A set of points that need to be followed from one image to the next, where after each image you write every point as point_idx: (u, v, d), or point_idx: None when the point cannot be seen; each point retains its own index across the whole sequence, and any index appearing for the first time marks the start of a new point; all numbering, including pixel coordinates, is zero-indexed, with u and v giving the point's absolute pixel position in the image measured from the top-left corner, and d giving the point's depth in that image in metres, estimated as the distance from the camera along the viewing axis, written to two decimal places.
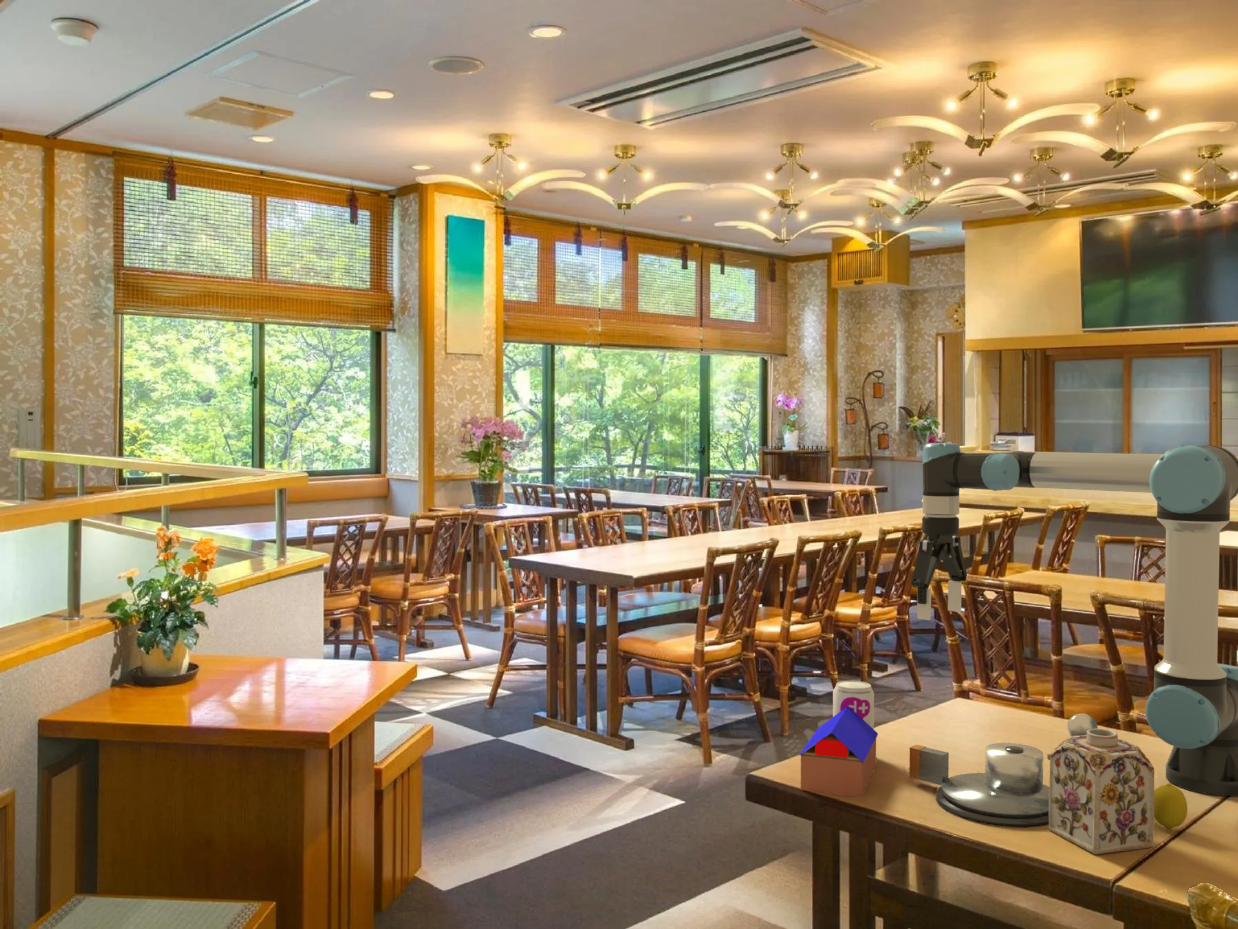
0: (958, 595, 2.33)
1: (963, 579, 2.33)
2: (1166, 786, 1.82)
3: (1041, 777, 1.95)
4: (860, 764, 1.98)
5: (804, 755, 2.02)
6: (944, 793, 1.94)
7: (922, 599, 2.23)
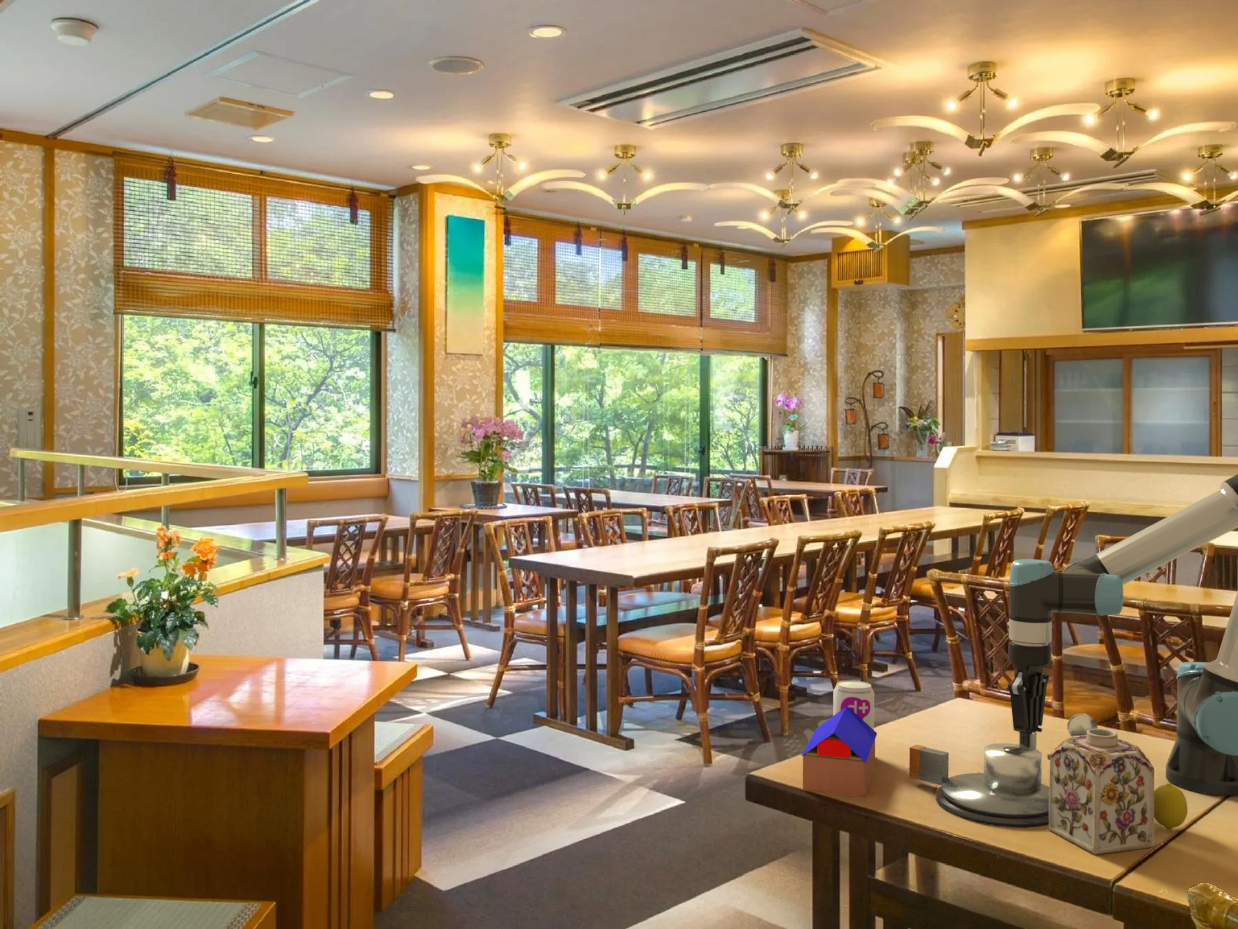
0: None
1: (1038, 729, 2.03)
2: (1166, 786, 1.82)
3: (1039, 778, 1.95)
4: (862, 764, 1.98)
5: (806, 755, 2.02)
6: (944, 793, 1.94)
7: (1025, 745, 2.02)
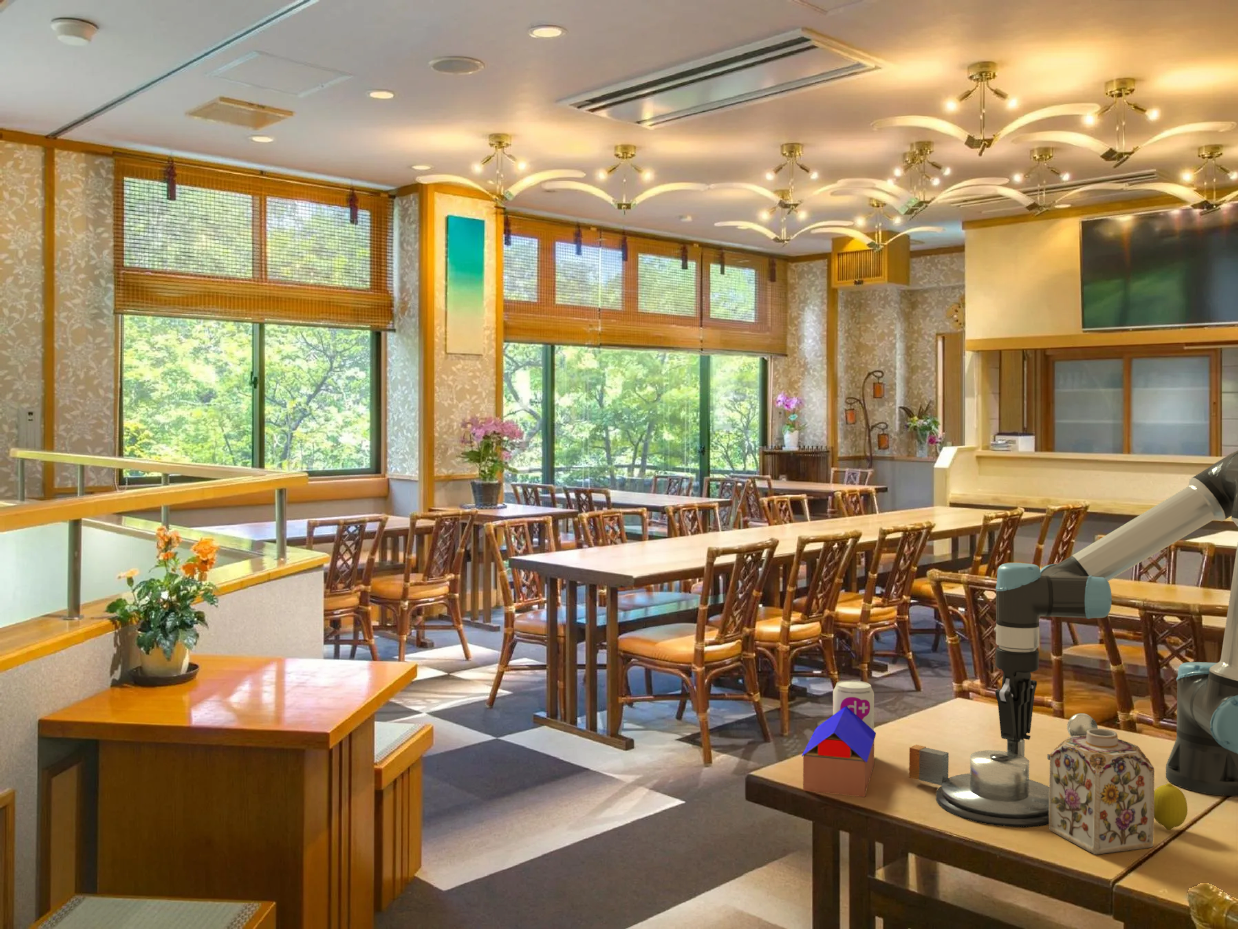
0: None
1: (1026, 736, 1.98)
2: (1166, 786, 1.82)
3: (1027, 786, 1.91)
4: (863, 764, 1.98)
5: (806, 755, 2.02)
6: (944, 793, 1.94)
7: None
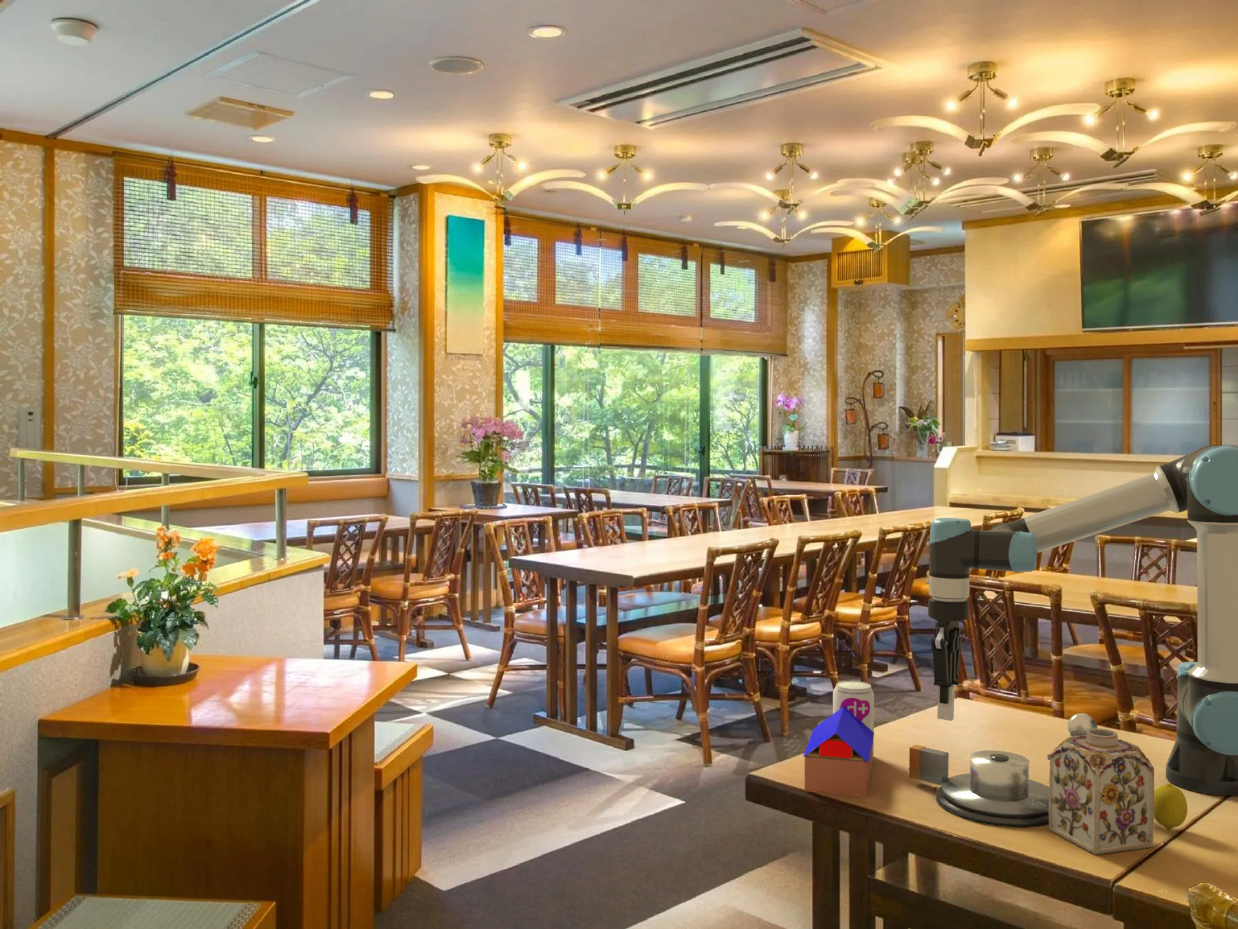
0: None
1: (956, 682, 2.09)
2: (1166, 786, 1.82)
3: (1027, 786, 1.91)
4: (865, 764, 1.99)
5: (808, 756, 2.02)
6: (944, 793, 1.94)
7: (945, 699, 2.07)
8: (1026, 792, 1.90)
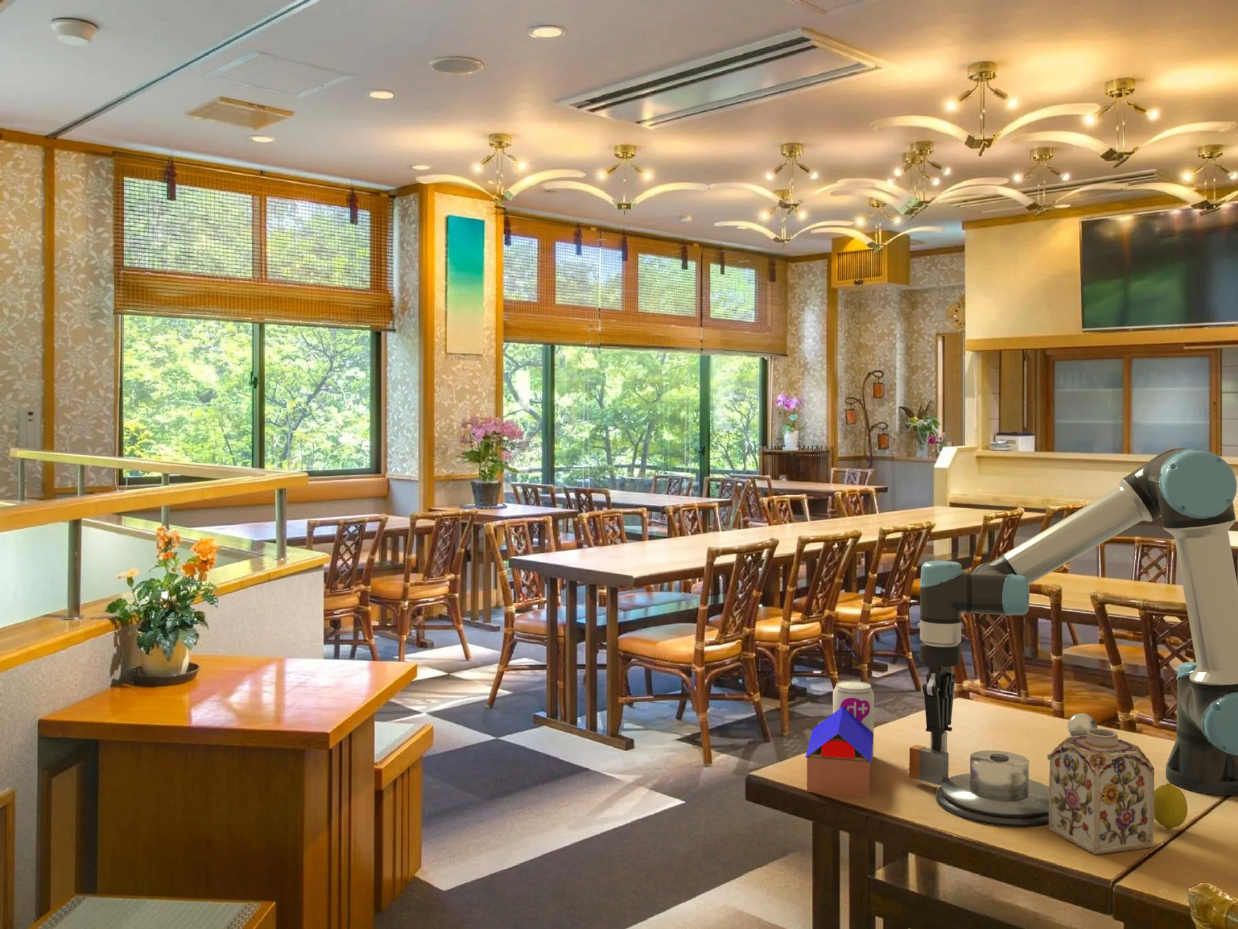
0: None
1: (949, 728, 2.05)
2: (1166, 786, 1.82)
3: (1027, 786, 1.91)
4: (867, 764, 1.99)
5: (810, 757, 2.01)
6: (944, 793, 1.94)
7: (937, 745, 2.04)
8: (1026, 792, 1.90)
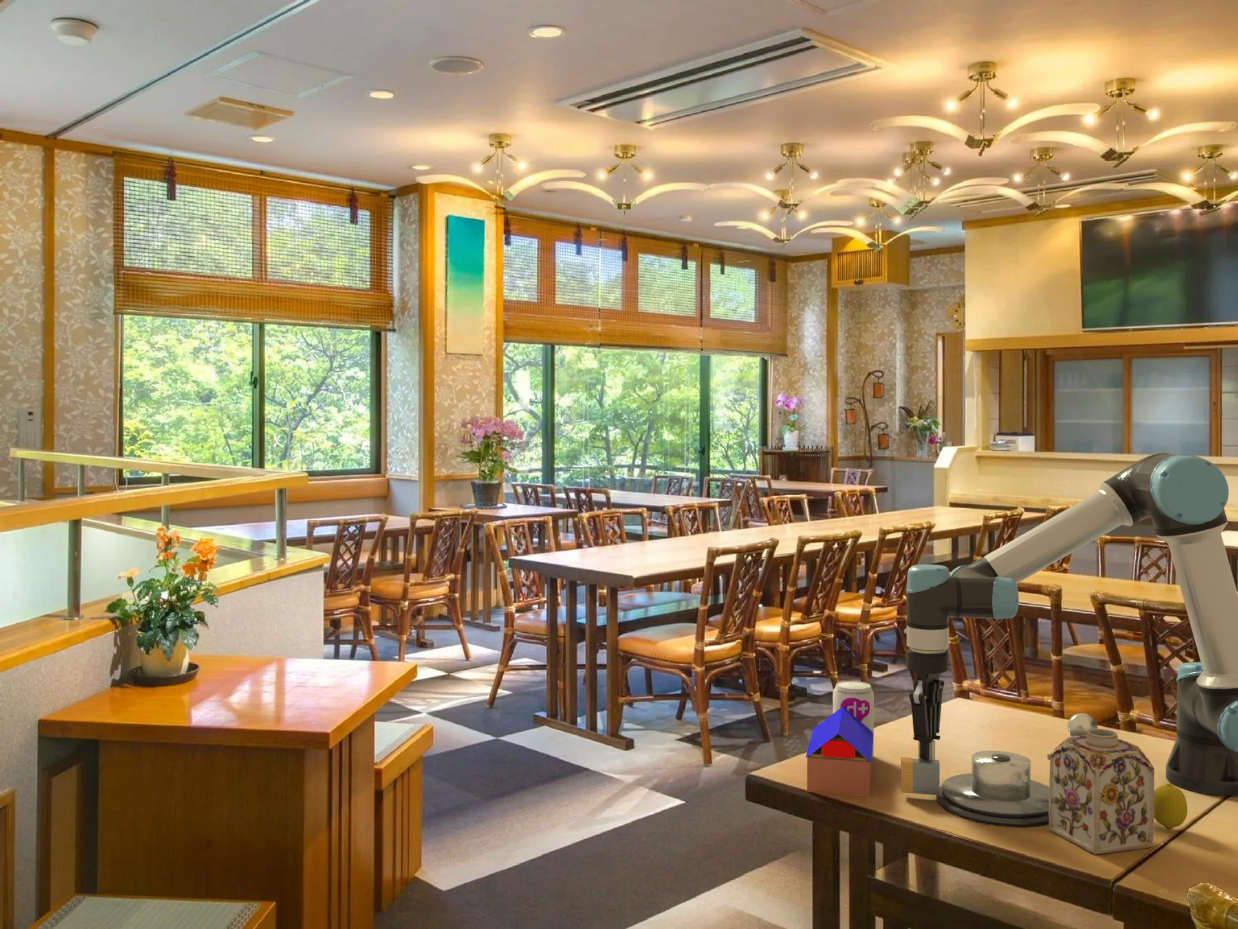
0: None
1: (937, 736, 1.99)
2: (1166, 786, 1.82)
3: None
4: (867, 764, 1.99)
5: (810, 757, 2.01)
6: (961, 803, 1.89)
7: (925, 754, 1.98)
8: None
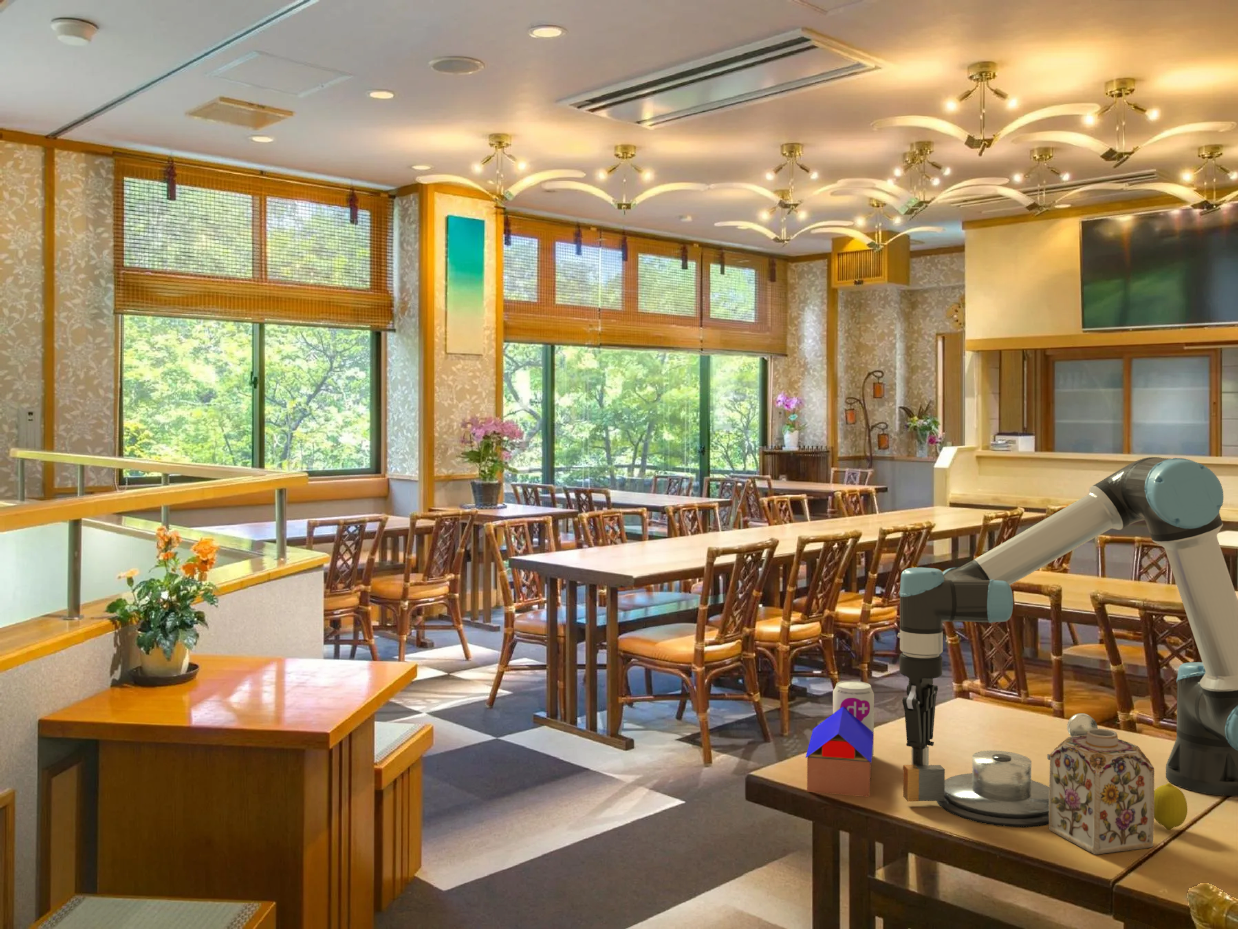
0: None
1: (930, 742, 1.96)
2: (1166, 786, 1.82)
3: None
4: (867, 764, 1.99)
5: (810, 757, 2.01)
6: (975, 807, 1.87)
7: (919, 761, 1.95)
8: None
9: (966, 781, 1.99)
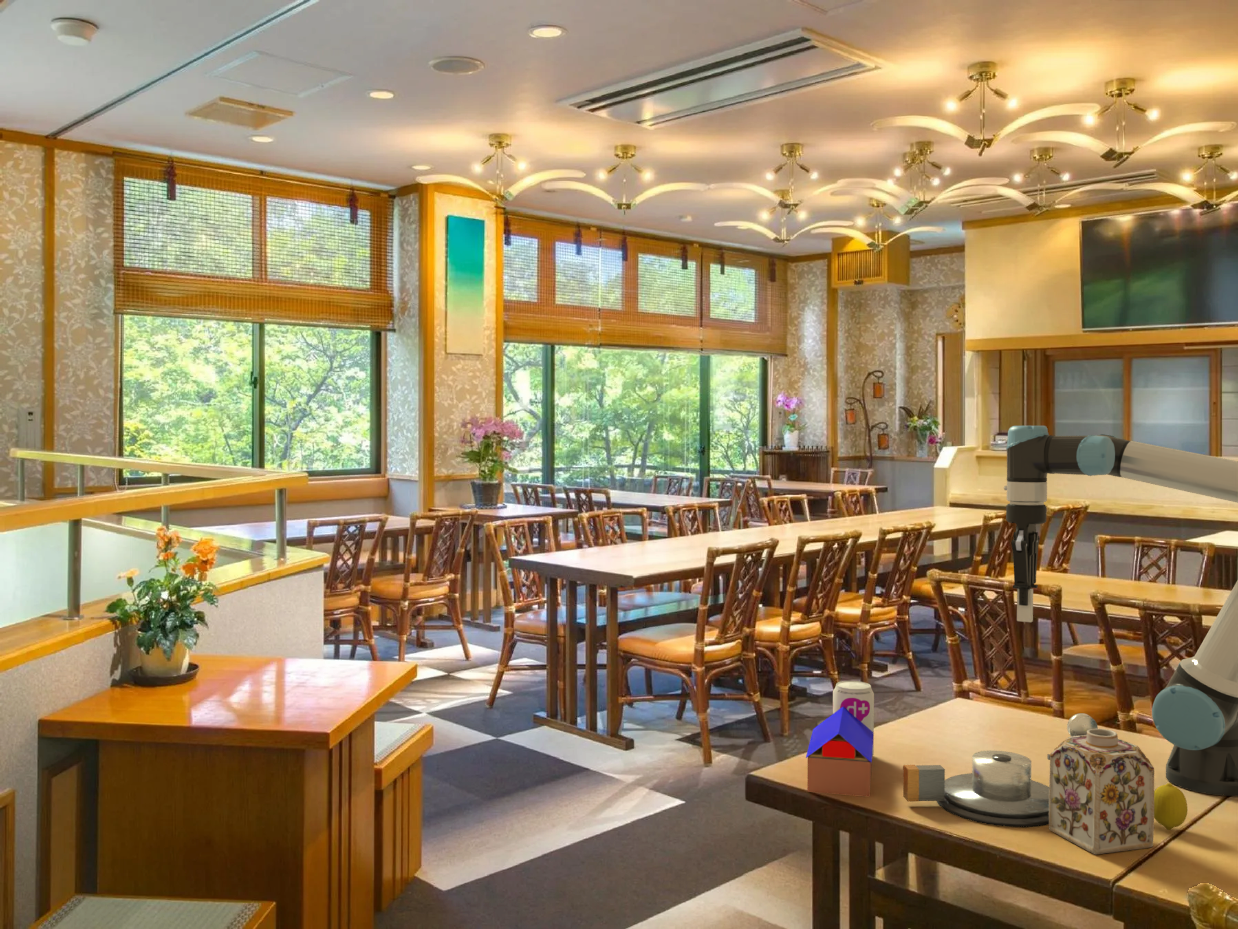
0: None
1: (1035, 585, 2.14)
2: (1166, 786, 1.82)
3: None
4: (868, 764, 1.99)
5: (811, 757, 2.01)
6: (975, 807, 1.87)
7: (1025, 600, 2.13)
8: None
9: (966, 781, 1.99)
